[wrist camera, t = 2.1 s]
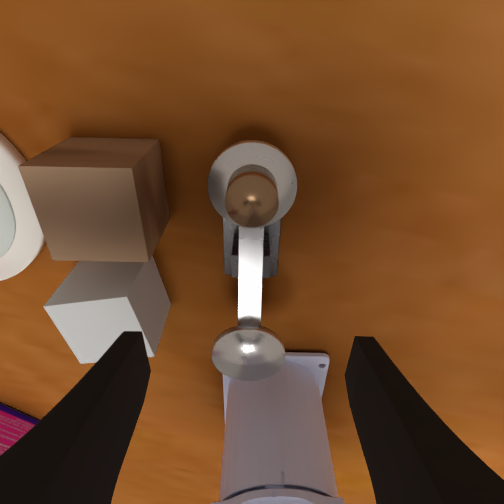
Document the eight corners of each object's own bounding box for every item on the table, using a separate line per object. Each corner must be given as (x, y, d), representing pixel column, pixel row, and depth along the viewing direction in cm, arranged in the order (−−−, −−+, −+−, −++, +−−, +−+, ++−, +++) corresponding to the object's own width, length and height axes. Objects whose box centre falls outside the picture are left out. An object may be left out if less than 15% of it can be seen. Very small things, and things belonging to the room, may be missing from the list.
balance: (278, 320, 24) (282, 381, 19) (221, 318, 24) (213, 380, 19) (294, 126, 17) (307, 158, 12) (213, 125, 17) (197, 155, 12)
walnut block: (170, 217, 19) (148, 262, 16) (92, 216, 20) (52, 260, 16) (159, 138, 17) (131, 168, 13) (70, 136, 17) (17, 166, 13)
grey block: (171, 303, 23) (154, 356, 19) (109, 310, 23) (80, 363, 20) (150, 248, 21) (126, 296, 17) (81, 257, 21) (43, 306, 17)
